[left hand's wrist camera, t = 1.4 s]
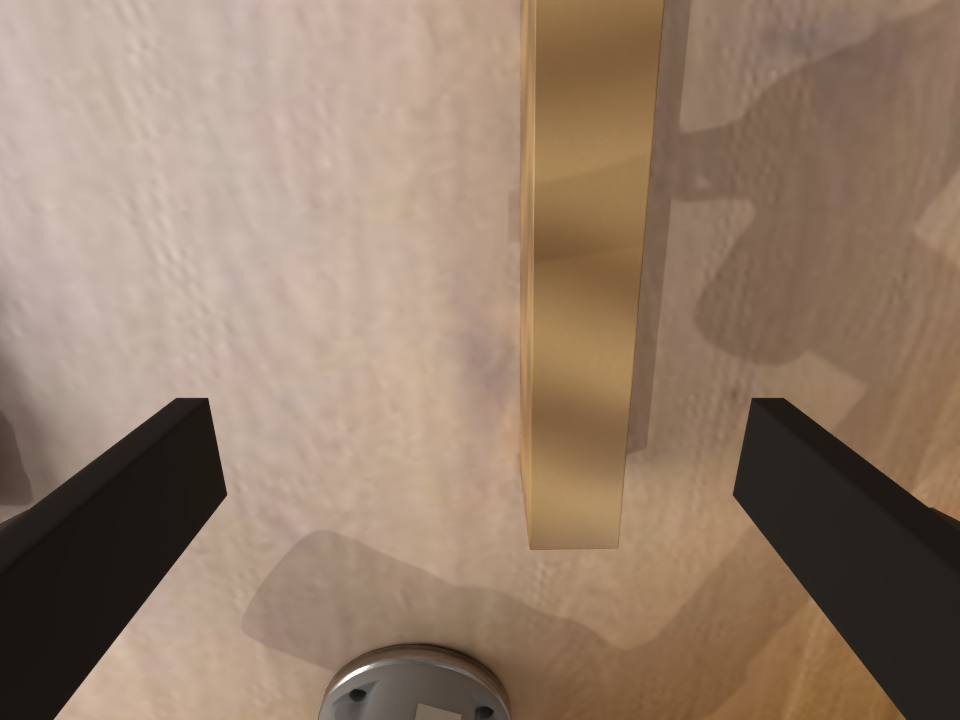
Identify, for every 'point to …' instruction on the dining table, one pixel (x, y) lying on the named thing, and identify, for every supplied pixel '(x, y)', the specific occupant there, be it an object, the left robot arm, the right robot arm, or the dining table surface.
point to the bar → (581, 256)
